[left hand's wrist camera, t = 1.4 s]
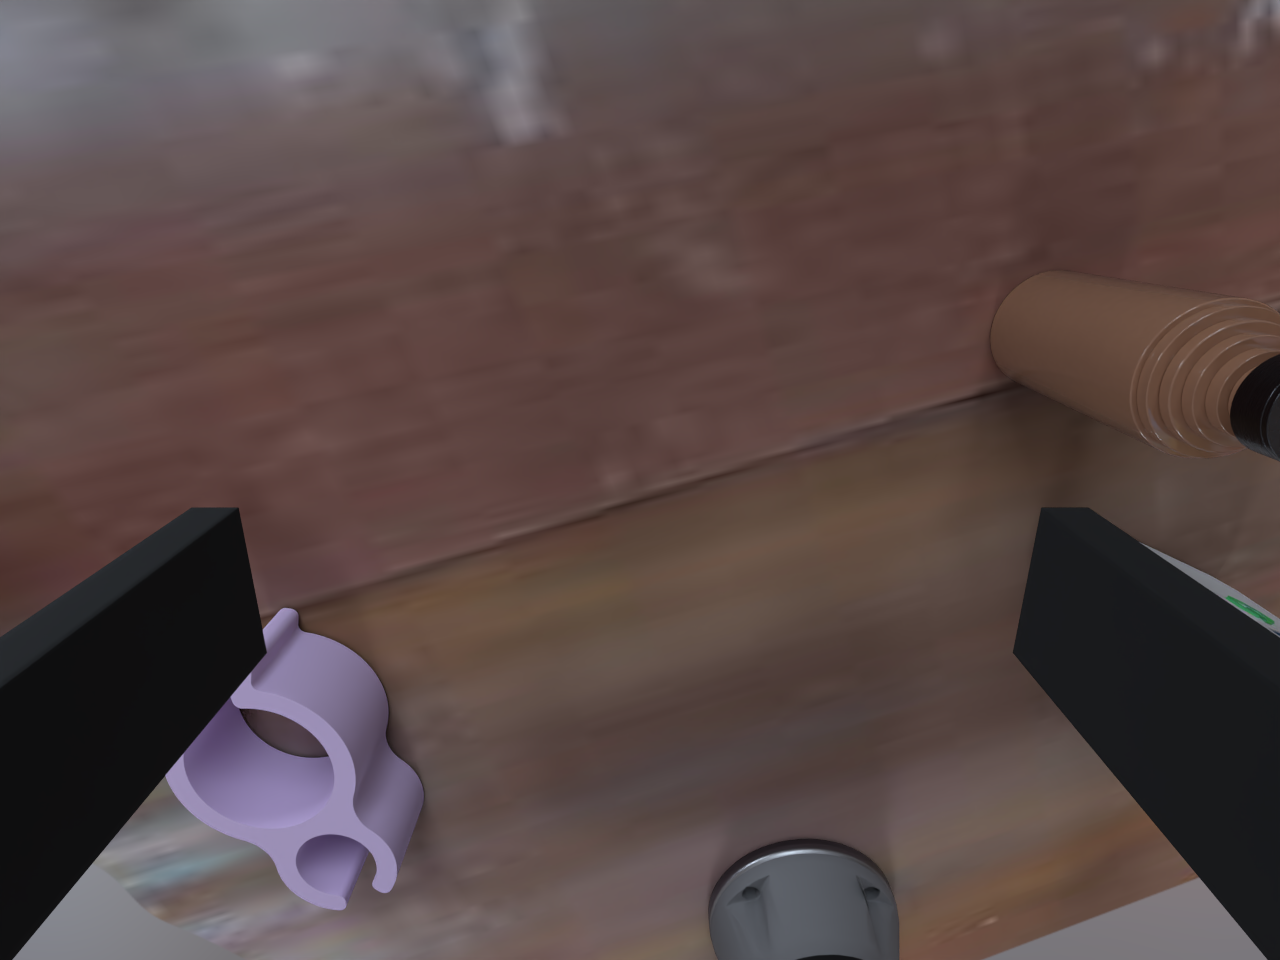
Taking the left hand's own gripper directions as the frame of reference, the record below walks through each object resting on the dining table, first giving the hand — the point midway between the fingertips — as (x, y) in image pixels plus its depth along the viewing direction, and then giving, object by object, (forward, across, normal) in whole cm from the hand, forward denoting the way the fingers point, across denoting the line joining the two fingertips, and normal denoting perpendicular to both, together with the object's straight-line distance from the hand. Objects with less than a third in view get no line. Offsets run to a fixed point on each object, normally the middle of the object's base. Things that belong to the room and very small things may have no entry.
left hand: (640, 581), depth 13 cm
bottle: (+36, -25, +1) cm, 44 cm away
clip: (+36, +24, +31) cm, 53 cm away
